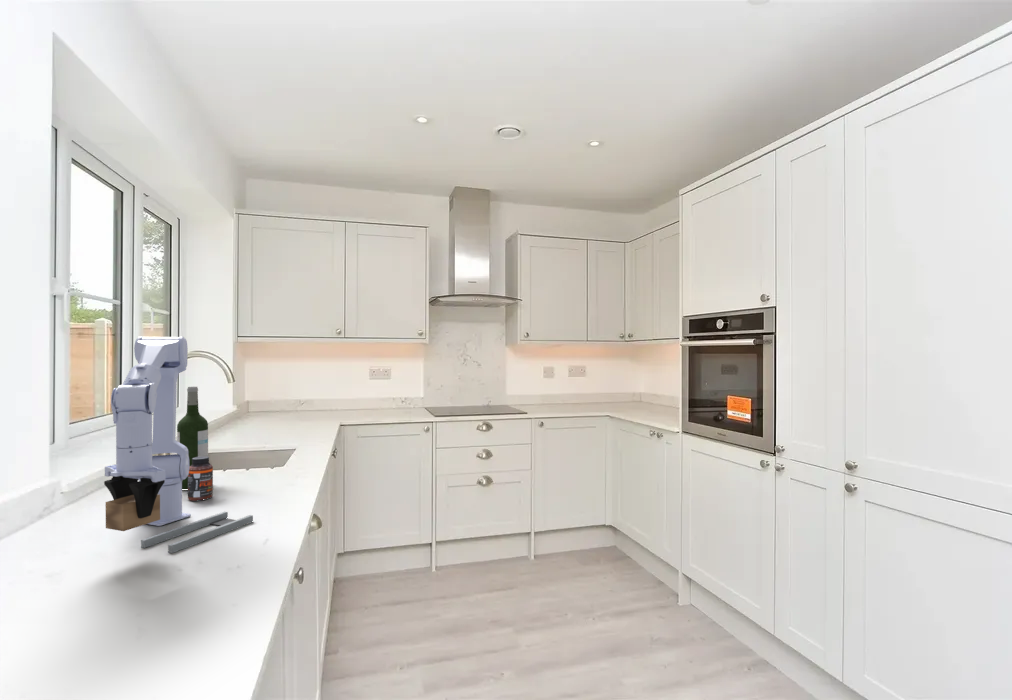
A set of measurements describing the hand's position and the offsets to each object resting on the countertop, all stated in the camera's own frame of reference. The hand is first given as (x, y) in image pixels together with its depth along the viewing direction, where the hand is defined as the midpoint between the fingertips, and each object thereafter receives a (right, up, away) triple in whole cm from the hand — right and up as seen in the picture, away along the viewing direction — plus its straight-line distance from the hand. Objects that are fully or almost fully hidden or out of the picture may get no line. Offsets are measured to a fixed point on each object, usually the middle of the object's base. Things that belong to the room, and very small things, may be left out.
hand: (134, 515), depth 100 cm
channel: (+5, -8, +13) cm, 16 cm away
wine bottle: (-21, -9, +53) cm, 57 cm away
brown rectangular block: (0, -2, 0) cm, 2 cm away
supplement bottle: (-11, -9, +41) cm, 43 cm away
